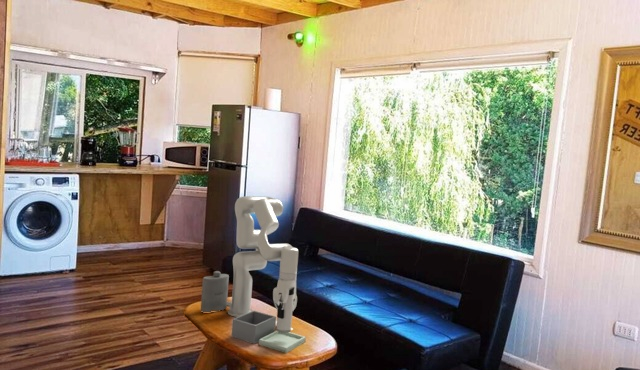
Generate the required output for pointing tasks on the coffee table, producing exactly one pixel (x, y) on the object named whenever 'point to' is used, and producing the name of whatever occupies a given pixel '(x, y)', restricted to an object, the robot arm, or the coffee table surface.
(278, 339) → the tray
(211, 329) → the coffee table surface
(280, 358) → the coffee table surface
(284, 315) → the travel mug
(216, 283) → the flask
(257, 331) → the deep bin
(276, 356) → the coffee table surface
